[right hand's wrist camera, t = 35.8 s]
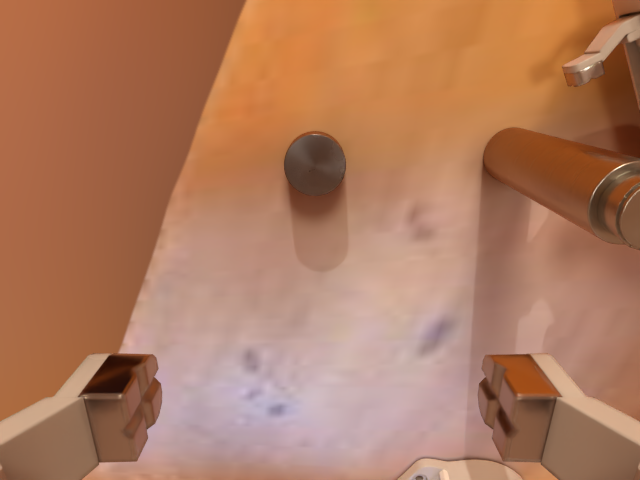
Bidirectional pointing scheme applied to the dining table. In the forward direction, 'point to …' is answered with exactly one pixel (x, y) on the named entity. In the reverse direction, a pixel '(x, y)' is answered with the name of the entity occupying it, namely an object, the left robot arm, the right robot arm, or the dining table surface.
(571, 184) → the brown cylinder
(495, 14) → the dining table surface
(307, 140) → the lid
